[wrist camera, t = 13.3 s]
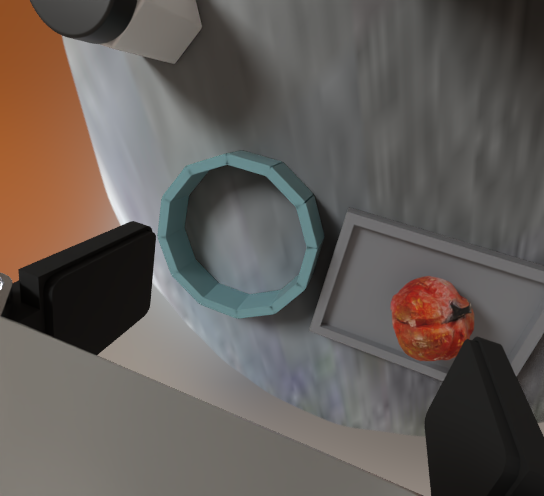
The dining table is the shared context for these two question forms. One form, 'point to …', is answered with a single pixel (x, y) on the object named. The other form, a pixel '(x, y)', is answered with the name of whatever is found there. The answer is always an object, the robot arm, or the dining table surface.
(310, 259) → the teal polygonal ring
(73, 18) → the jar
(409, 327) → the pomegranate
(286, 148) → the dining table surface
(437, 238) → the tray
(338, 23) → the dining table surface
